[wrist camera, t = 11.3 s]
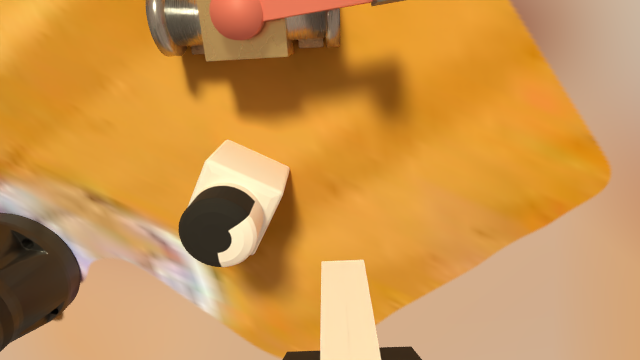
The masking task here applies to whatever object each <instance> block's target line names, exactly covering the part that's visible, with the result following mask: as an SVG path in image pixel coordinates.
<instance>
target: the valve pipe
mask: <svg viewBox="0 0 640 360" xmlns="http://www.w3.org/2000/svg"><path fill="white" fill-rule="evenodd" d="M210 1H211V0H146V13H147V20H148V24H149V28H150V31H151V34H152V37H153V39H154V41H155V44H156V45H157V47H158V49H159V50H160V51H161V53H163V54H164V55H165V56H182V55H184V54H185V52H186V50H187V46H191V49H192V54H205V58H206V61H221V60H239V59H256V58H274V57H288V56H290V55H292V54H294V48H293V40H298V41H299V48H314V47H323V38H326V47H340V9H339V8H337V9H332V10H326V11H321V12H315V13H309V14H304V15H298V16H293V17H287V18H282V19H276V20H271V21H265V22H264V25H263V28H262V29H261V31H260V32H259V33H258V34H257V35H256V36H255V37H253V38H251V39H248V40H232V39H228V38H226V37H224V36H223V35H222V34H220V33H219V32H218V31H217V29H216V28H215V27H214V25H213V23H212V21H211V17H210V11H209V8H210Z"/></svg>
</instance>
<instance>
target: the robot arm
mask: <svg viewBox="0 0 640 360" xmlns="http://www.w3.org/2000/svg"><path fill="white" fill-rule="evenodd" d="M79 286H80V272H79V268H78V265H77V262H76V260H75V257H74V256H73V254H72V252H71V251H70V249H69V248H68V247H67V245H66V244H65V243H64V242H63V241H62V240H61V239H60V238H59V237H58V236H57V235H56V234H55V233H53V232H52V231H51V230H49V229H48V228H46V227H45V226H43V225H41V224H40V223H38V222H36V221H33V220H31V219H28V218H26V217H22V216H19V215H14V214H7V213H0V351H2V350H3V349H4V348H5V347H6V346H7V345H8V344H9V343H10V342H12V341H14V340H16V339H18V338H20V337H22V336H23V335H25V334H27V333H29V332H31V331H33V330H35V329H37V328H39V327H40V326H42V325H44V324H46V323H48V322H50V321H51V320H53V319H55V318H56V317H57V316H58V315H60V314H61V313H62V312H63V311H64V310H65V308H67V306H68V305H69V304H70V303H71V302H72V301H73V300H74V298H75V297H76V295H77V293H78V290H79ZM283 360H422V359H421V358H420V357H419V356H418V354H417V353H416V352H415V351H414V349H413V348H412V347H387V348H386V347H385V348H379V345H378V339H377V333H376V327H375V321H374V316H373V310H372V304H371V298H370V293H369V287H368V281H367V276H366V270H365V264H364V260H346V261H322V274H321V337H320V351H299V352H287V353H286V355H285V356H284V358H283Z"/></svg>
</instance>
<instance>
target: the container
mask: <svg viewBox="0 0 640 360" xmlns="http://www.w3.org/2000/svg"><path fill="white" fill-rule="evenodd" d="M289 171H290V168H289V167H288V166H286V165H284V164H282V163H280V162H277V161H275V160H273V159H271V158H268V157H266V156H264V155H262V154H260V153H257V152H255V151H253V150H251V149H249V148H246V147H244V146H242V145H240V144H237V143H235V142H233V141H231V140H225V141H224V142H223V143H222V144H221V145H220V146H219V147H218V148H217V150H216V151H215V152H214V153H213V154H212V155H211V156H210V157H209V158H208V159H207V160H206V161H205V163H204V166H203V169H202V171H201V174H200V176H199V179H198V181H197V184H196V187H195V189H194V192H193V194H192V197H191V200H190V202H189V205H188V207H187V209H186V210H185V211H184V213H183V215H182V216H181V219H180V222H179V236H180V239H181V242H182V244H183V246H184V247H185V249H186V250H187V251H188V253H189V254H190V255H192V256H193V257H194V258H195V259H197V260H198V261H200V262H202V263H204V264H207V265H210V266H215V267H229V266H233V265H236V264H238V263H240V262H242V261H244V260H245V259H246V258H247V257H248V256H249V255H253V254H254V253H255V252H256V250H257V248H258V246H259V244H260V242H261V240H262V238H263V236H264V233H265V231H266V229H267V227H268V225H269V223H270V221H271V219H272V217H273V215H274V213H275V211H276V209H277V206H278V204H279V202H280V200H281V198H282V196H283V193H284V189H285V186H286V182H287V178H288V175H289Z"/></svg>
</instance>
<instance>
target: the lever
mask: <svg viewBox="0 0 640 360" xmlns="http://www.w3.org/2000/svg"><path fill="white" fill-rule="evenodd" d="M398 1H404V0H211V1H210V8H209V11H210V17H211V21H212V23H213V25H214V27H215V28H216V29H217V31H218V32H219V33H220V34H222V35H223V36H224V37H226V38H228V39H232V40H248V39H251V38H253V37H255V36H256V35H257V34H258V33H259V32H260V31H261V29H262V28H263V25H264V22H265V21H271V20H276V19H282V18H287V17H293V16H298V15H304V14H309V13H315V12H321V11H326V10H332V9H337V8H343V7H348V6H354V5H359V4H365V3H371V5H372V6H376V5H382V4H387V3H393V2H398Z"/></svg>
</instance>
